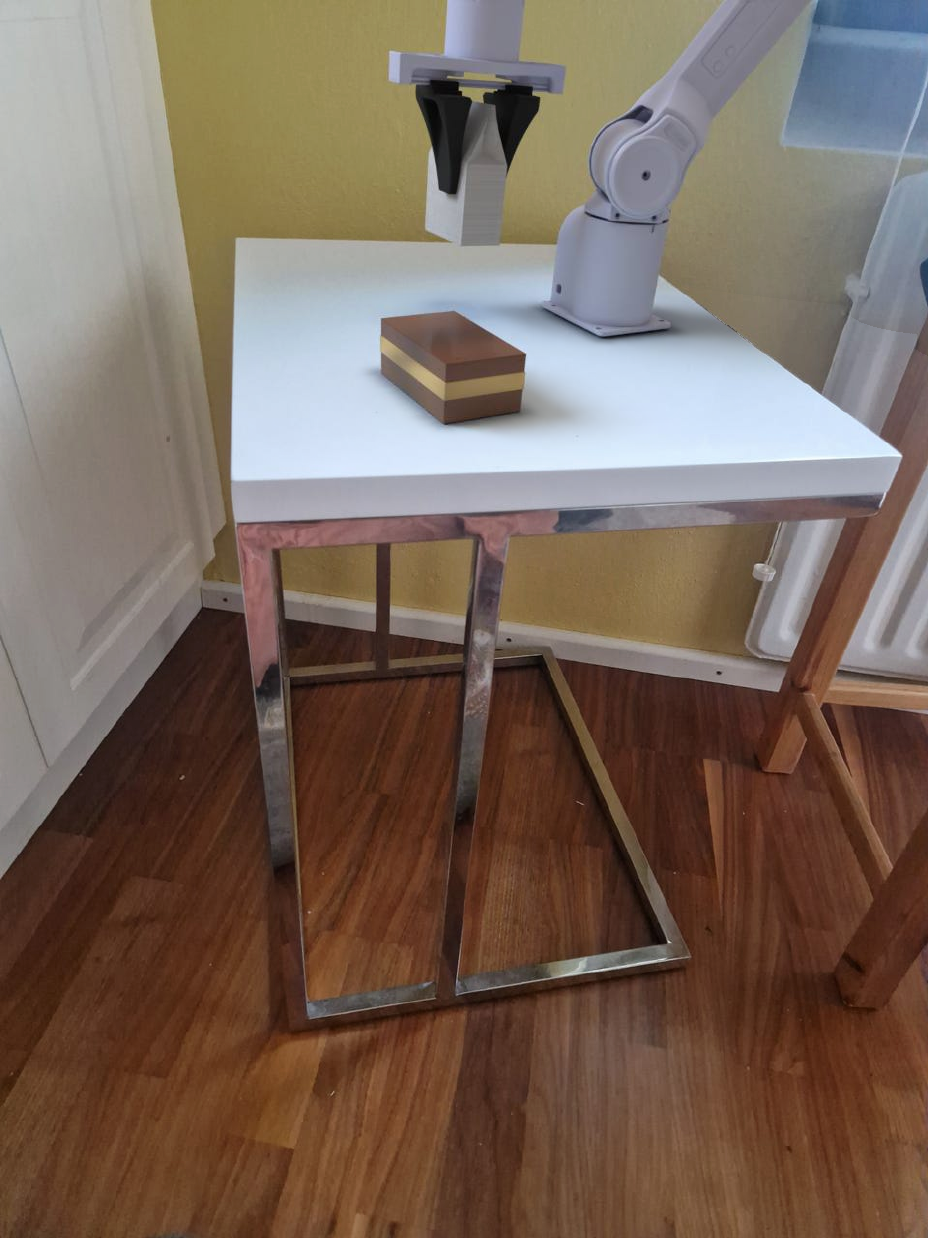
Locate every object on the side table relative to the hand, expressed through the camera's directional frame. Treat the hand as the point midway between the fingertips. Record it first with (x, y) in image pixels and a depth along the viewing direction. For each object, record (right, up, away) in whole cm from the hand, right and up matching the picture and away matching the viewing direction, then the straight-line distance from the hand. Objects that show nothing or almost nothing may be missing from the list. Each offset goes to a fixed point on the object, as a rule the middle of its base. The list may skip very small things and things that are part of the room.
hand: (470, 191), depth 68 cm
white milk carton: (-1, -3, +3) cm, 4 cm away
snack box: (-2, -19, -9) cm, 21 cm away
